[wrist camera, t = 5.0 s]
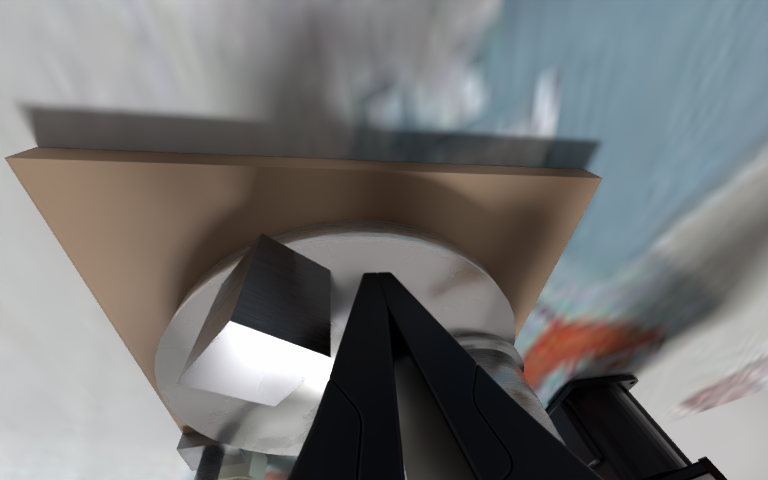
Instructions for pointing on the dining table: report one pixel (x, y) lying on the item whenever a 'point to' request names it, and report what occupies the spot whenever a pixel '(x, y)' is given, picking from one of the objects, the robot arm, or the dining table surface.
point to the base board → (280, 219)
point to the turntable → (303, 323)
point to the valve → (246, 468)
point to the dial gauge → (208, 455)
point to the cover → (505, 372)
